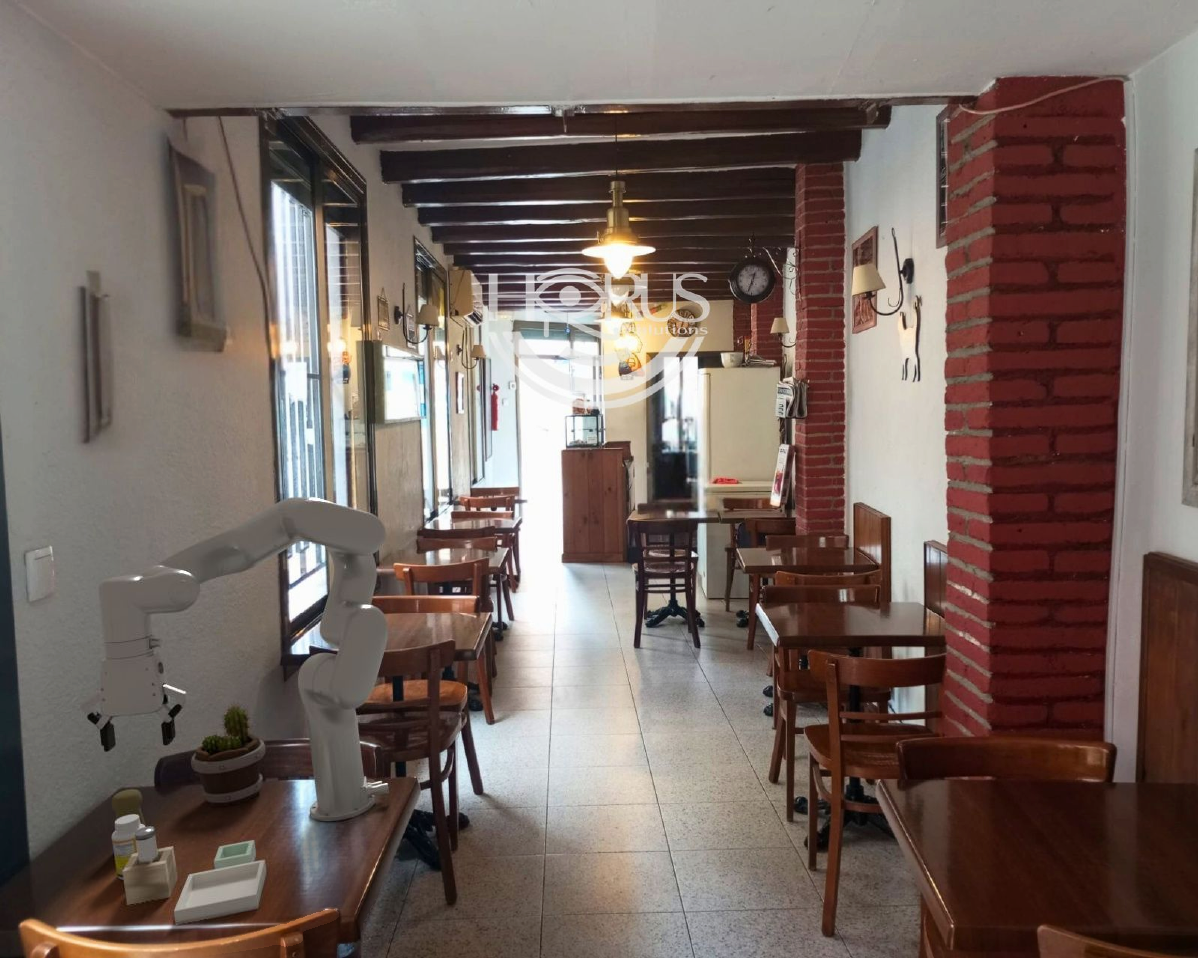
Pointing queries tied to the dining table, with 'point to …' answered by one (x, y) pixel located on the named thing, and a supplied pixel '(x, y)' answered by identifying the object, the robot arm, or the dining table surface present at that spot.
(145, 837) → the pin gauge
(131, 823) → the supplement bottle
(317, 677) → the robot arm
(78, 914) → the dining table surface
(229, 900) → the tray
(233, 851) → the socket
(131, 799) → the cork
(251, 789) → the flowerpot
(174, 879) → the maple block
